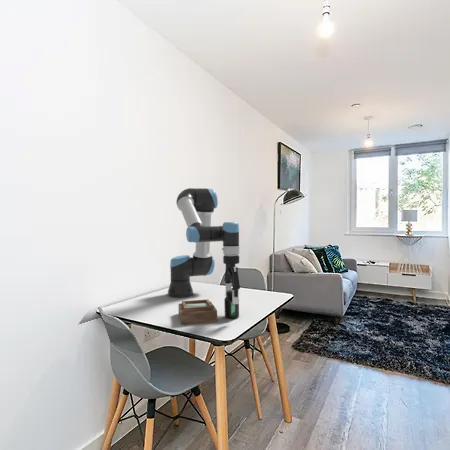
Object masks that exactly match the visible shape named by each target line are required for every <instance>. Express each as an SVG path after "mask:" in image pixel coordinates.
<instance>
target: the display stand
mask: <svg viewBox="0 0 450 450" xmlns="http://www.w3.org/2000/svg"><path fill="white" fill-rule="evenodd" d="M178 317H179V321H180V324H181V325H182V326H183V325H192V324H203V323H205V324H206V323H216V322H218V310H217V308H216V306H215V305H214V304H213V302H212V301H211V300H210V299H195V300H182V301H181V302H180V303H178Z"/></svg>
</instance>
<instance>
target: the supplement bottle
mask: <svg viewBox="0 0 450 450" xmlns="http://www.w3.org/2000/svg"><path fill="white" fill-rule="evenodd" d="M226 296H227V297H226ZM239 317H240V303H239V304H232V290H229V291H227V294H226V293H225V297H224V318H225V319H228V320H229V319H230V320H234V319H235V320H236V319H239Z"/></svg>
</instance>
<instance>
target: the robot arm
mask: <svg viewBox="0 0 450 450" xmlns="http://www.w3.org/2000/svg"><path fill="white" fill-rule="evenodd" d="M218 203H219V201H218V194H217V192H216V191H215V189H212V188H198V187H197V188H192V187H191V188H190V187H189V188H186V189H184V190H181V192H179V193H178V195H177V198H176V206H177V208H178V210H179V211H180V212H181V213H182V217H183V219H184V221H185V224H186V226H187V228H186V230H185V233H186V234H185V236H186V240H187V242H188V243H195V251H194V252H193V253H192V257H190V255H189V254H188V255H187V254H185V255H184V254H183V255H179V256H178V255H177V256H173V257H172V258H171V259H170V265H169V268H170V284H169V287H168V290H167V296H169V297H170V298H185V297H190V296H193V295H194V290H193V287H192V283H191V279H190V277H203V276H204V277H205V276H210V275H212V274H213V273H214V269H215V265H216V264H215V257H213V256H212V255H213V254H212V253H211V252H210V248H211V246H210V245H211V244H210V243H214V242H215V243H216V242H217V243H218V242H222V247H223V248H221V250H222V251H223V256H222V257H223V260H222V262H223V264H225V270H224V271H225V272H224V282H225V297H227V296H226V294H227V291H229V290H232V304H239V305H240V296H239V294H240V293H239V290H240V289H241V285H240V277H239V268H238V266H236V265H238V264H240V255H239V254H240V225H239V223H238V222H237V221H228V222H227V221H226V222H223V223H222V225H217V226H216V225H215V226H214V225H213V226H211V225H212V214H213V213H214V211H215V209H216V208H218Z"/></svg>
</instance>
